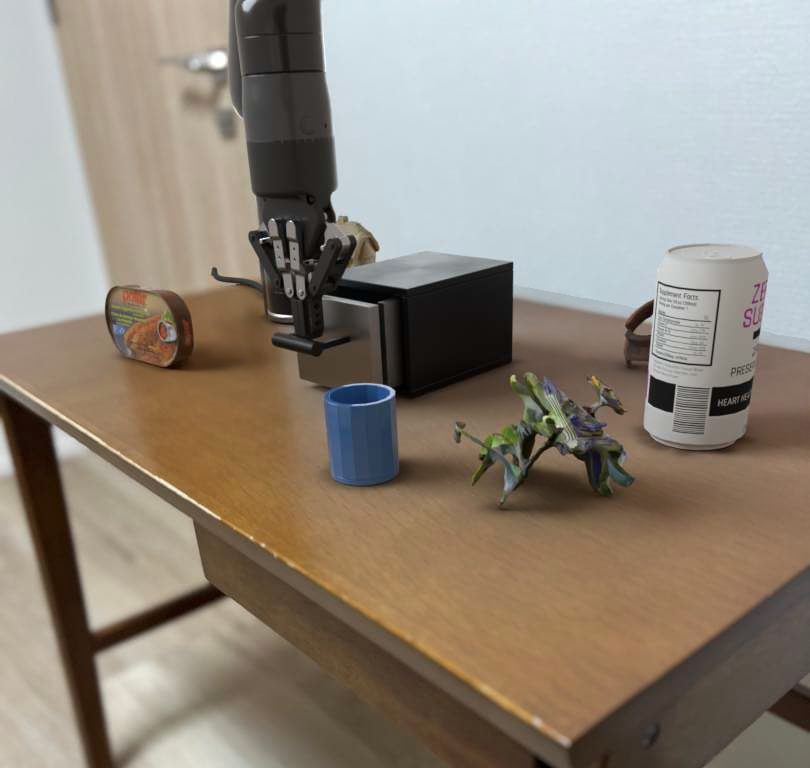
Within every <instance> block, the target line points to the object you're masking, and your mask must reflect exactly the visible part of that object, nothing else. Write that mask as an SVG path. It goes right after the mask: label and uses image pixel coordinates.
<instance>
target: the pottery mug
mask: <svg viewBox="0 0 810 768" xmlns="http://www.w3.org/2000/svg"><path fill="white" fill-rule="evenodd" d="M653 309H654V298H653V299H651V300H649V301H647V302H645V303H644V304H642V305H641V306H640V307H638V308H637V309H636V310H635V311H633V312H632V313H631V315H630V316H629V317H628V318H627V320H626V321H625V323H624V327H625V328H626V332H625V333H624V337H625V341H624V347H623V356H624V361H625V364H626V366H627V367H628V368H631V366H632V362H648V363H649V355H650V344H651V334H647V335H646V334H642V335H641V334H636V333H635V331H636V330H637V328H638V327H639V326H641V324H643V323H644V322H645V321H646V320H648V319H650V318H652V317H653Z"/></svg>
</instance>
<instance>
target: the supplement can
mask: <svg viewBox="0 0 810 768" xmlns="http://www.w3.org/2000/svg"><path fill="white" fill-rule="evenodd" d="M763 255H764V251H763V250H762V249H761V248H758V247H756V246H755V247H754V246H751V245H744V244H736V243H735V244H734V243H721V242H720V243H715V242H714V243H712V242H709V243H707V242H706V243H690V244H681V245H677V246H671V247H670V248H668V249H666V254H665V256H664V258H663V259H662V261H661V263H660V264H659V265H658V267H657V269H656V275H655V288H654V298H653V299H654V309H653V315H652V322H651V333H650V335H651V344H650V355H649V361H648V368H647V377H646V378H647V379H646V380H647V381H646V391H645V401H644V402H645V403H644V413H643V429H644V430H646V431H647V432H648V433H649V434H650V437H651V438H652V439H653V440H654V441H656V442H658V443H660V444H663V445H665V446H667V447H672V448H677V449H681V450H691V451H710V450H711V451H712V450H717V449H723V448H726V447H729V446H731V445H734V443H735V442H736V441H737V440H738V439H741V438H743V436H744V434H745V433H746V431H747V426H748V420H749V411H750V404H751V398H752V391H753V390H752V389H753V384H754V377H755V370H756V363H757V356H758V349H759V343H760V337H761V331H762V330H761V329H762V323H763V322H762V321H763V315H764V309H765V301H766V294H767V289H768V280H769V270H768V267H767V265H766V263H765V260H764V257H763Z"/></svg>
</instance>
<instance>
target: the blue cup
mask: <svg viewBox="0 0 810 768" xmlns="http://www.w3.org/2000/svg"><path fill="white" fill-rule="evenodd" d="M323 407H324V417H325V418H324V419H325V428H326V439H327V441H326V442H327V452H328V461H329V462H328V463H329V470H330V475H331V478H332V479H333V480H334V481H335V482H338V483H340V484H342V485H347V486H354V487H365V486H374V485H379V484H384V483H387V482H389V481H391V480H393V479H395V477H397V476H398V475H399V474H400V453H399V452H400V451H399V433H398V432H399V431H398V414H397V412H398V411H397V394H396V392H395V390H394V389H392V388H391V387H389V386H385V385H382V384H373V383H359V384H350V385H344V386H340V387H337V388H331V389H329V390H328V391H326V392H325V393H324V396H323Z"/></svg>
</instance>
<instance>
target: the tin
mask: <svg viewBox="0 0 810 768" xmlns="http://www.w3.org/2000/svg"><path fill="white" fill-rule="evenodd" d="M188 307H189V306H187V303H186V302H185V301H184V299H183V298H182V297H181V296H180V295H179V294H177V293H176V292H174V291H172V290H168V289H162V288H156V287H150V286H145V285H138V284H126V285H113V286H112V287H111V288H110V289H109V290H108V292H107V294H106V296H105V302H104V317H105V323H106V327H107V331H108V333H109V336H110V338H111V340H112V341H111V342H112V343H113V345H114V346H115V348H116V349H117V351H118V352H119V353H120V354H121V355H122V356H124V357H125V358H127V359H132V360H134V361H138V362H141V363H145V364H150V365H154V366H156V367H159V368H160V367H161V368H167V367H170V366H173V365H178V364H182V363H185V362H187V361H188V359H190V357H192V356H191V355H192V354H193V351H194V347H195V341H194V340H195V339H194V325H193V320H192V315H191V312H190V309H189V308H188Z"/></svg>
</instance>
